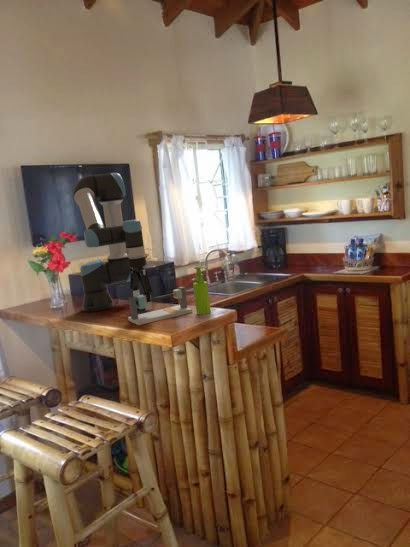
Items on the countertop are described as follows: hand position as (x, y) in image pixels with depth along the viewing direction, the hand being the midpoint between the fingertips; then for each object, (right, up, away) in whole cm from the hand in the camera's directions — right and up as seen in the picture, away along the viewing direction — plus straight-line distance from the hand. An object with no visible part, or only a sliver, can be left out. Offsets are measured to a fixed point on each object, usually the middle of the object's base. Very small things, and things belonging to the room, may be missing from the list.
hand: (143, 307), depth 212 cm
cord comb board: (+7, -4, +4) cm, 9 cm away
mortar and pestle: (-2, -3, +17) cm, 18 cm away
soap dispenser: (+26, -3, 0) cm, 26 cm away
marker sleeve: (0, 0, 0) cm, 0 cm away
